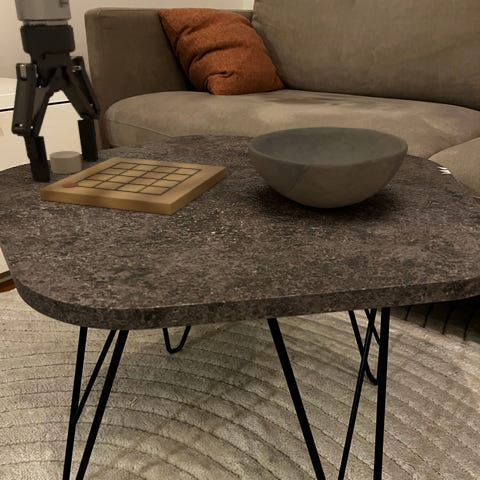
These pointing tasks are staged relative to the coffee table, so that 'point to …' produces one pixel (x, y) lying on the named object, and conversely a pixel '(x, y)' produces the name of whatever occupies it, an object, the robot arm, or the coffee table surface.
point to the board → (136, 185)
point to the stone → (65, 162)
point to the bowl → (327, 163)
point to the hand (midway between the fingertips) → (67, 169)
